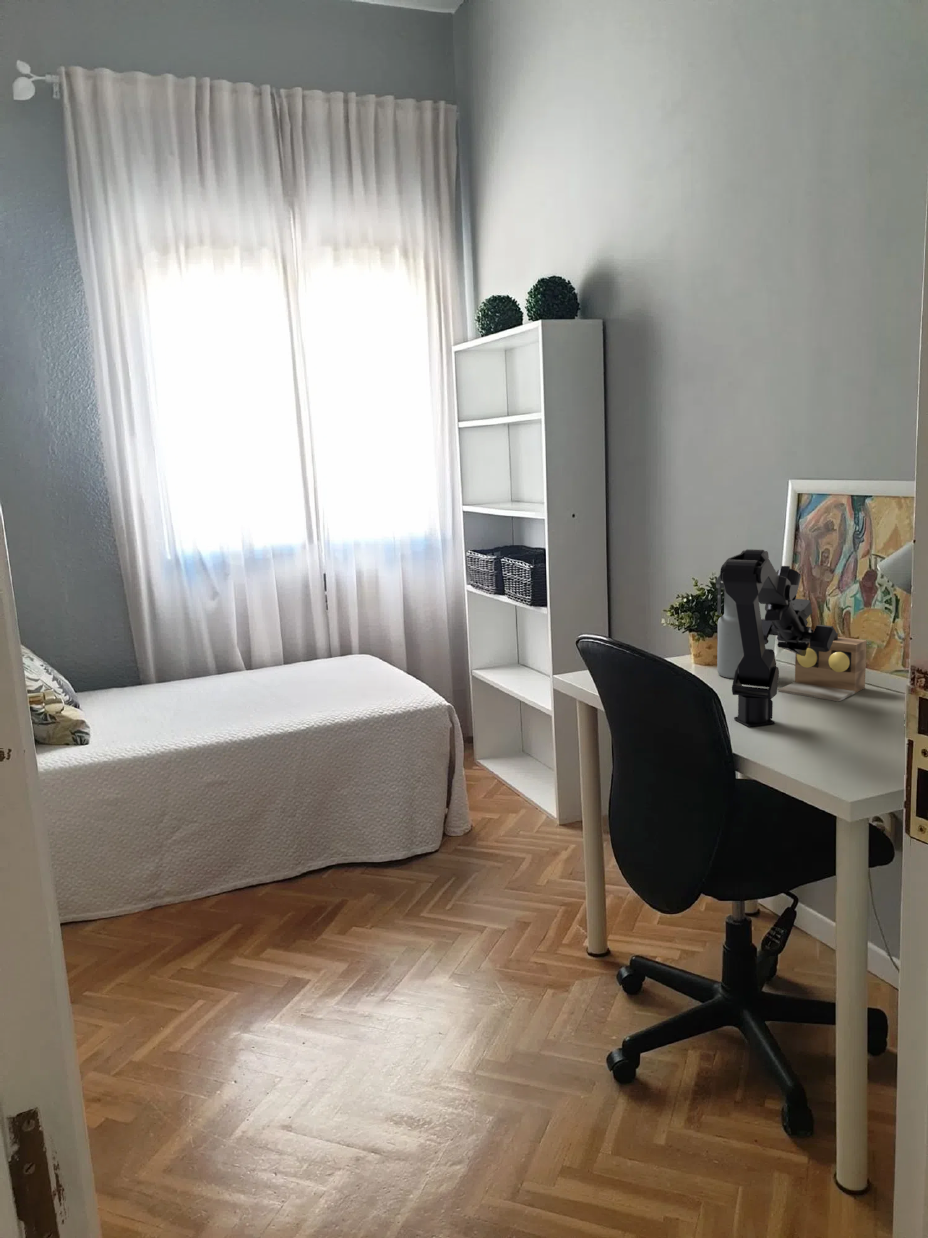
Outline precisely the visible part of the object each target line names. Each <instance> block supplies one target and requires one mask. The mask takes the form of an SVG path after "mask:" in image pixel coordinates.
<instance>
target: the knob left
mask: <svg viewBox="0 0 928 1238" xmlns="http://www.w3.org/2000/svg"><path fill="white" fill-rule="evenodd" d="M797 660H798V662H799V664H800V665H801V666H803V667H806V668H809V667H812V666H814V665H815V664H816V663H818V662H819V651H815V650H813V649H811V647H809V648H807V650H806V655H805V656H801V655H798V654H797Z"/></svg>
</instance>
